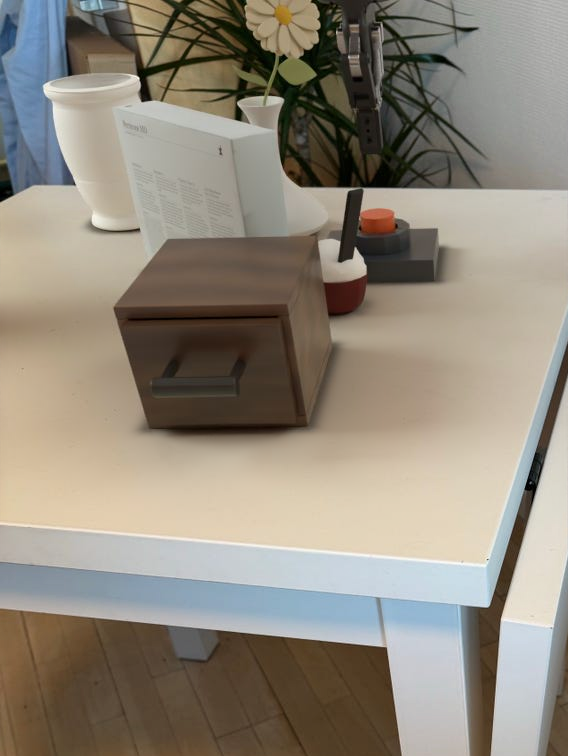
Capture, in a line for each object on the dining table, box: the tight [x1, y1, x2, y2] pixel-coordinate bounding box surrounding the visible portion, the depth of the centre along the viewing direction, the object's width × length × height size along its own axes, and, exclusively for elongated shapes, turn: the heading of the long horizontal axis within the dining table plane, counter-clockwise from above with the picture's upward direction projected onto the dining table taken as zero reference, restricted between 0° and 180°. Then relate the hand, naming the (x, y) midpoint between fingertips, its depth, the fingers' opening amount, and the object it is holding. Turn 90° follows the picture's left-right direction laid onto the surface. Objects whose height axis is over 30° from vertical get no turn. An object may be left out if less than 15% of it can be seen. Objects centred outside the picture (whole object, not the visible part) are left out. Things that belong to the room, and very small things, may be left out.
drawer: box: [118, 316, 298, 426], centre depth 71 cm, size 18×12×8 cm, turn 179°
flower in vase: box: [231, 0, 330, 236], centre depth 98 cm, size 13×11×25 cm
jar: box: [42, 72, 142, 232], centre depth 107 cm, size 11×10×15 cm
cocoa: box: [318, 187, 368, 315], centre depth 85 cm, size 10×6×12 cm, turn 17°
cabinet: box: [112, 235, 333, 429], centre depth 74 cm, size 15×13×10 cm
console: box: [326, 217, 440, 284], centre depth 97 cm, size 12×10×4 cm
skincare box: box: [112, 100, 289, 264], centre depth 89 cm, size 21×6×16 cm, turn 45°
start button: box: [359, 207, 396, 234], centre depth 95 cm, size 4×4×2 cm
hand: (372, 152), depth 91 cm, fingers closed
